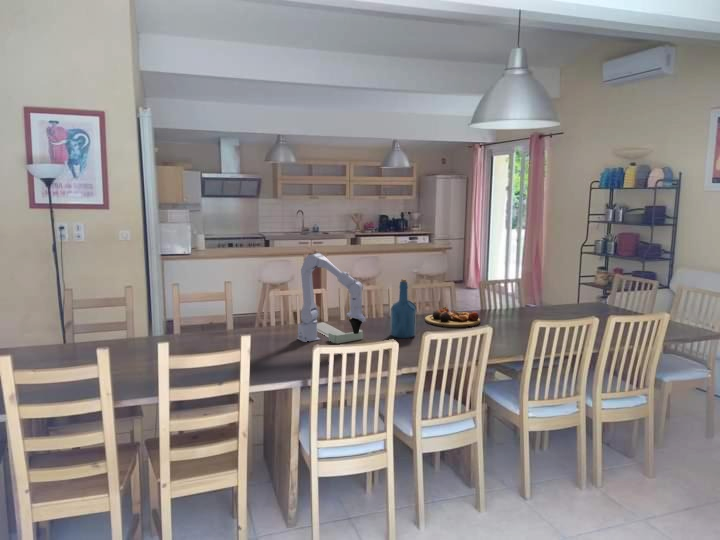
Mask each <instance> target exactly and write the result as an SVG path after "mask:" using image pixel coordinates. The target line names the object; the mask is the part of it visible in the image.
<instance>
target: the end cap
mask: <svg viewBox="0 0 720 540" xmlns="http://www.w3.org/2000/svg"><path fill="white" fill-rule="evenodd" d="M344 333H345V332H344ZM328 334H329V338H328V342H330V341H331V342H330V343H333V344H342V343H348V342H352V341H359V340H364V331H363V329H361V328H360V329H359V333H358V334H354V333H353V331H352V332H346V333H345V334H339V335H336V334H334V333H328Z"/></svg>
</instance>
